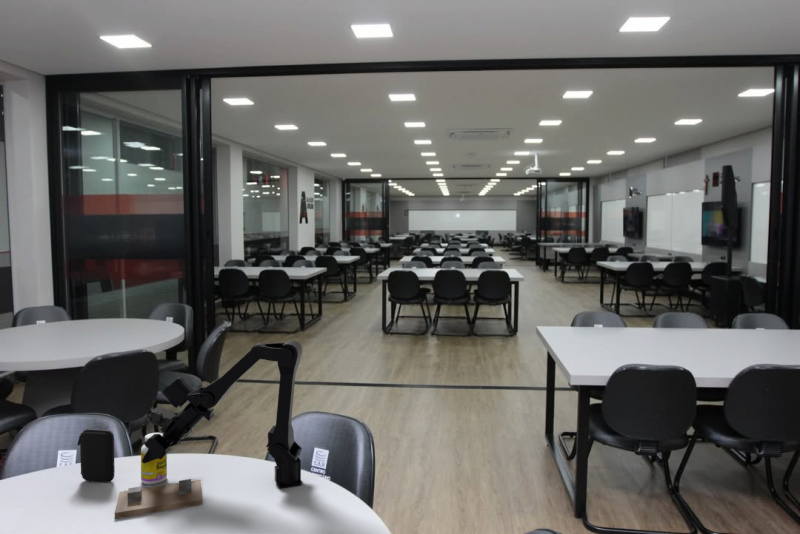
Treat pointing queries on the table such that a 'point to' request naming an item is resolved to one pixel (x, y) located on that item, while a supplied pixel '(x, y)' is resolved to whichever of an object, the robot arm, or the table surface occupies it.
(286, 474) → the robot arm
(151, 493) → the board
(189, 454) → the table surface
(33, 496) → the table surface
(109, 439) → the carrying case or bag
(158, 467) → the supplement bottle
